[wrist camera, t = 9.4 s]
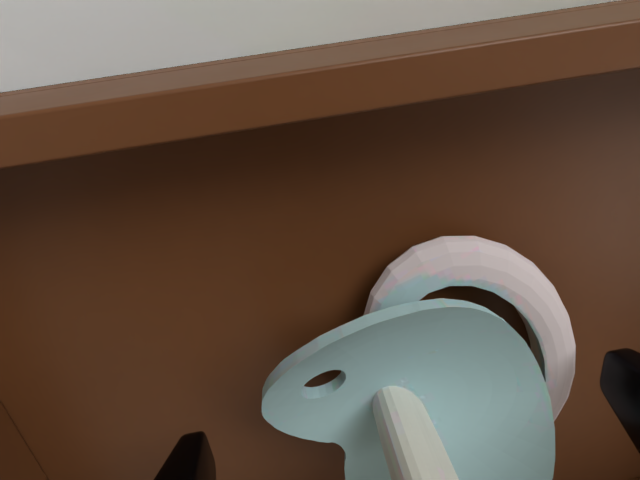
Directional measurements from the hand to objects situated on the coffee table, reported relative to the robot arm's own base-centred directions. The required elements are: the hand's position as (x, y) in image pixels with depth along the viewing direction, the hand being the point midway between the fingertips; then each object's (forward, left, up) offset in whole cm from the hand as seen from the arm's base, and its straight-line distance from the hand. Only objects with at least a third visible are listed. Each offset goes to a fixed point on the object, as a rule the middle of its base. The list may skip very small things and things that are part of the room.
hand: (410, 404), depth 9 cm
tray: (0, 0, -2) cm, 2 cm away
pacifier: (-1, 0, -1) cm, 2 cm away
